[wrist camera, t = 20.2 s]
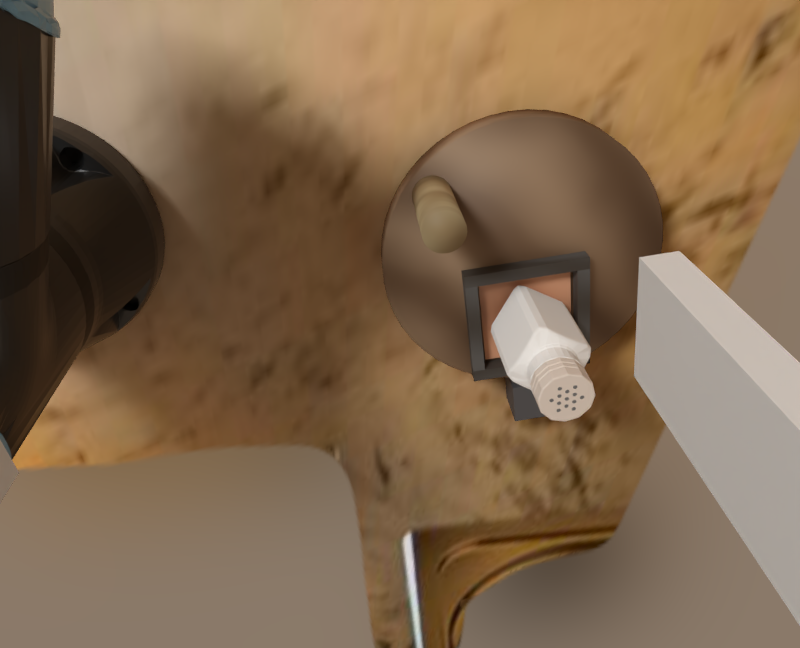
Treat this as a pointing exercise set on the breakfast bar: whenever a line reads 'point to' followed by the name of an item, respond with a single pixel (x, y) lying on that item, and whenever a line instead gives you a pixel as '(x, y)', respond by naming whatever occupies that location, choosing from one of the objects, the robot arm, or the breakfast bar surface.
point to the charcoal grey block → (521, 401)
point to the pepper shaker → (545, 353)
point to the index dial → (517, 232)
